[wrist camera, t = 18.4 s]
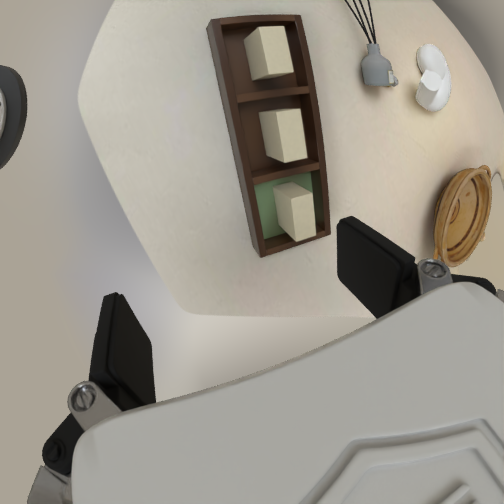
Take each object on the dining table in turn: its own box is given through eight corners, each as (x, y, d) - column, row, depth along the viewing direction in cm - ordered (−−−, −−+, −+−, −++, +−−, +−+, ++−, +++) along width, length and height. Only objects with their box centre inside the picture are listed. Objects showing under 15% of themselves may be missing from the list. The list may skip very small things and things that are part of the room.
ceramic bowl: (431, 273, 62) (451, 288, 55) (396, 235, 50) (423, 253, 44) (479, 187, 55) (500, 197, 48) (454, 129, 43) (482, 137, 36)
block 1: (252, 80, 29) (268, 74, 24) (243, 39, 26) (258, 26, 21) (273, 78, 30) (294, 72, 25) (265, 38, 27) (284, 25, 22)
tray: (252, 246, 41) (260, 258, 38) (206, 28, 25) (210, 19, 22) (319, 225, 43) (330, 234, 40) (288, 21, 27) (300, 14, 24)
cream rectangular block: (278, 224, 40) (296, 242, 35) (272, 186, 37) (290, 198, 32) (296, 219, 41) (316, 235, 35) (291, 181, 37) (312, 192, 32)
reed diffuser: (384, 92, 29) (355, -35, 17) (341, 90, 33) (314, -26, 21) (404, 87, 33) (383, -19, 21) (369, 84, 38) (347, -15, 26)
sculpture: (448, 75, 36) (477, 78, 30) (428, 124, 40) (459, 131, 34) (418, 34, 31) (450, 32, 24) (395, 82, 35) (430, 84, 28)
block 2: (266, 155, 35) (284, 163, 30) (258, 112, 32) (275, 112, 27) (286, 151, 35) (307, 158, 30) (279, 108, 32) (300, 108, 27)
